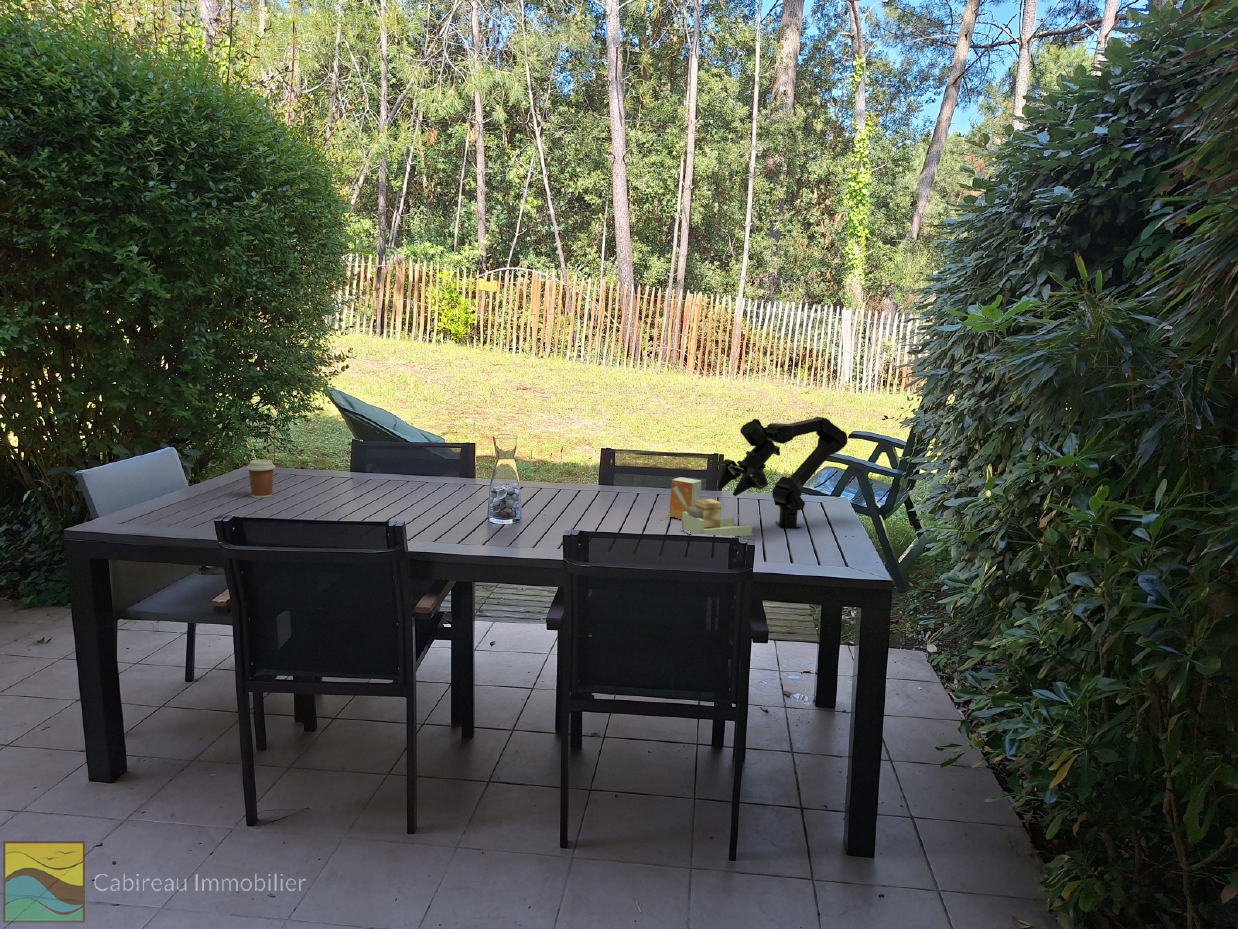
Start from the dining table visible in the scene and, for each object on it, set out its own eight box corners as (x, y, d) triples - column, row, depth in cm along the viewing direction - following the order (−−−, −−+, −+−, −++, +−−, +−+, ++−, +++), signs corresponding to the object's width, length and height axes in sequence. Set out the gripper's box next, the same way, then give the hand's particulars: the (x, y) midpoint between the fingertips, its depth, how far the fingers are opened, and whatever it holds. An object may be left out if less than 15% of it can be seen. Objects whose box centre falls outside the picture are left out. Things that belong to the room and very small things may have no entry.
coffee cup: (269, 499, 297) (268, 464, 295) (242, 498, 297) (241, 463, 295) (280, 493, 306) (279, 459, 304) (254, 492, 306) (253, 458, 304)
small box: (669, 518, 291) (670, 479, 288) (678, 514, 296) (680, 476, 294) (690, 522, 286) (692, 482, 284) (699, 518, 292) (702, 480, 289)
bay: (733, 526, 283) (735, 500, 281) (753, 535, 272) (755, 508, 271) (680, 530, 275) (681, 504, 273) (698, 540, 264) (699, 512, 263)
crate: (710, 528, 276) (712, 498, 274) (719, 532, 271) (721, 502, 269) (693, 529, 273) (695, 499, 272) (702, 534, 268) (704, 503, 267)
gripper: (790, 478, 270) (756, 516, 267) (756, 467, 286) (725, 502, 284) (770, 454, 265) (736, 491, 262) (737, 444, 282) (705, 479, 279)
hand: (725, 492), depth 272 cm, fingers open, 9 cm apart
